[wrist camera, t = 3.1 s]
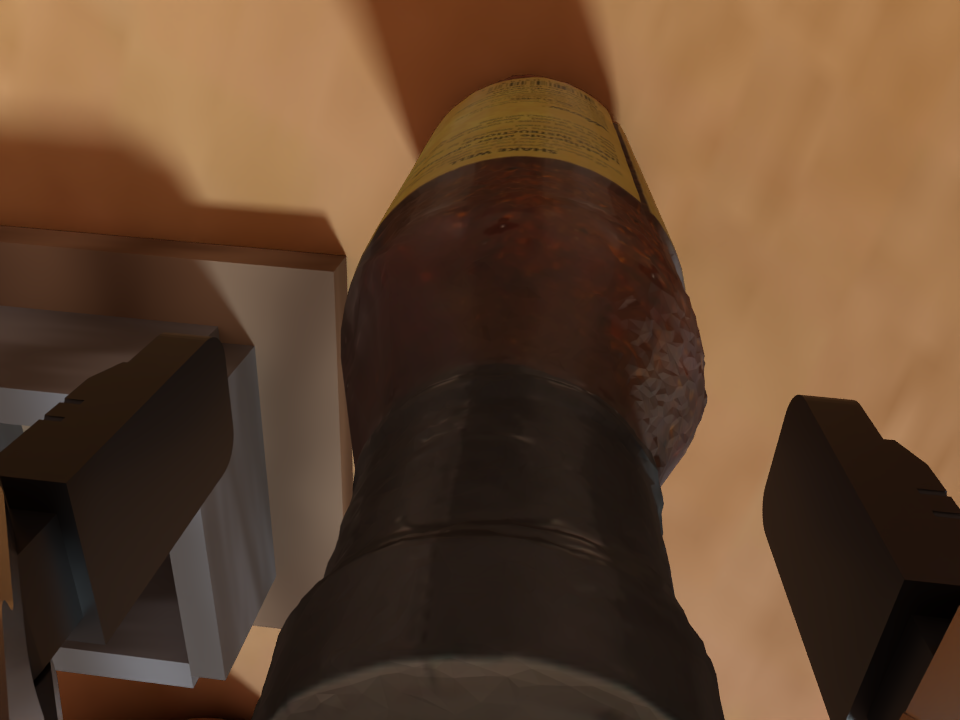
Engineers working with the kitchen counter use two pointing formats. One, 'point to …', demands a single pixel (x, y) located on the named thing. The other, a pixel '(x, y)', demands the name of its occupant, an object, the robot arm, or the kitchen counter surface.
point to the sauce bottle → (509, 439)
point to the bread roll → (205, 719)
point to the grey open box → (255, 413)
